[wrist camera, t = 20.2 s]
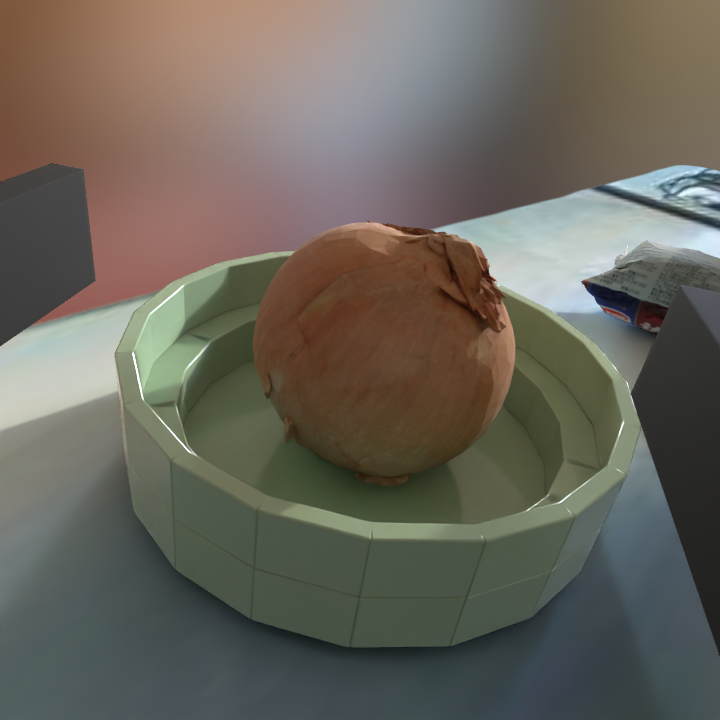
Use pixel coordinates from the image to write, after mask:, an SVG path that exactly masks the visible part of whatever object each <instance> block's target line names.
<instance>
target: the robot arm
mask: <svg viewBox="0 0 720 720" xmlns="http://www.w3.org/2000/svg"><path fill="white" fill-rule="evenodd" d="M94 281H95V271H94V263H93V253H92V244H91V236H90V226H89V217H88V208H87V199H86V190H85V180H84V171H83V169H79V168H74V167H69V166H64V165H58V164H53V163H51V164H48V165H46V166H43V167H40V168H37V169H34V170H32V171H29V172H26V173H23V174H20V175H18V176H15V177H12V178H9V179H6V180H4V181H1V182H0V346H1V345H3V344H4V343H6V342H7V341H9V340H10V339H11V338H13V337H14V336H16V335H17V334H19V333H20V332H22V331H23V330H25V329H26V328H27V327H29V326H30V325H32V324H33V323H35V322H36V321H38V320H39V319H40V318H42V317H43V316H45V315H46V314H48V313H49V312H51V311H52V310H53V309H55V308H56V307H58V306H59V305H61V304H62V303H64V302H65V301H67V300H68V299H70V298H71V297H72V296H74V295H75V294H77V293H78V292H80V291H81V290H83V289H84V288H86V287H87V286H88V285H90V284H91V283H93V282H94ZM631 397H632V400H633V403H634V406H635V409H636V412H637V415H638V417H639V420H640V423H641V426H642V429H643V432H644V435H645V438H646V441H647V444H648V447H649V450H650V453H651V456H652V459H653V461H654V464H655V467H656V470H657V473H658V476H659V479H660V482H661V485H662V488H663V491H664V494H665V497H666V500H667V503H668V505H669V508H670V511H671V514H672V517H673V520H674V523H675V526H676V529H677V532H678V535H679V538H680V541H681V544H682V547H683V550H684V552H685V555H686V558H687V561H688V564H689V567H690V570H691V573H692V576H693V579H694V582H695V585H696V588H697V591H698V594H699V596H700V599H701V602H702V605H703V608H704V611H705V614H706V617H707V620H708V623H709V626H710V629H711V632H712V635H713V638H714V640H715V643H716V646H717V649H718V652H719V655H720V294H719V292H715V291H710V290H705V289H700V288H695V287H690V286H684V285H679V287H678V289H677V291H676V294H675V296H674V298H673V300H672V303H671V305H670V307H669V309H668V312H667V314H666V316H665V318H664V321H663V323H662V325H661V327H660V329H659V332H658V334H657V336H656V338H655V341H654V343H653V345H652V347H651V350H650V352H649V354H648V356H647V358H646V361H645V363H644V365H643V367H642V370H641V372H640V374H639V376H638V379H637V381H636V383H635V385H634V388H633V390H632V392H631Z"/></svg>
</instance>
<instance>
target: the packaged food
mask: <svg viewBox="0 0 720 720" xmlns="http://www.w3.org/2000/svg"><path fill="white" fill-rule="evenodd" d="M627 249H628V246H627ZM627 249H626V251H625V253H624V255H619V256H618V257H616V259H615V265H616V266H615V267H614V268H613V269H612V270H610V271H608V272H605V273H603V274H600V275H597V276H594V277H591V278H588V279H586V280H583V281H582V284H584V285H585V288H586V289H587V291H588V292H589V293H590V294H591V295H592V296H594V297H595V300H596V302H597V304H598V305H599V306H600V307H601V308H602V309H603V311H604V312H605V313H606V314H608V315H610V316H613V317H615V318H617V319H620V320H622V321H624V322H627V323H630V324H633V325H635V326H638V327H640V328H643V329H645V330H647V331H650V332H652V333H656V334H658V332H659V329H660V327H661V325H662V323H663V321H664V318H665V316H666V314H667V312H668V309H669V307H670V305H671V303H672V300H673V298H674V296H675V294H676V291H677V289H678V287H679V285H684V286H690V287H695V288H700V289H705V290H710V291H715V292H719V294H720V259H719V258H716V257H713V256H710V255H707V254H704V253H702V252H700V251H696V250H691V249H686V248H679V247H673V246H666V245H661V244H657V243H654V242H650V241H644V242H643V243H641V244H640V245H639V246H637V247H636V248H635V249H634V250H633V251H632V252H630V253H628V252H627Z"/></svg>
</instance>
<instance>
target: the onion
mask: <svg viewBox="0 0 720 720" xmlns="http://www.w3.org/2000/svg"><path fill="white" fill-rule="evenodd" d="M487 261H488V260H487V259H486V258H485V256H484V254H483V252H482V250H481V248H480V247H478V246H477V245H475V244H474V243H472V242H470V241H468V240H466V239H462V238H459V237H458V235H453V234H447V233H445V232H438V233H436V232H434V231H433V230H427V229H421V228H409V227H399V226H396V225H392V224H389V223H387V224H379V223H375V222H371V221H367V223H354V224H348V225H344V226H341V227H338V228H333V229H330V230H327V231H324V232H322V233H320V234H319V235H317V236H315V237H313V238H312V239H310V240H309V241H307V242H306V243H304V244H303V245H302V246H301V247H300V248H298V249H297V250H296V251H295V252H294V253H293V254H292V255H291V256H290V257H289V258H288V259H287V260H286V261H285V262H284V263H283V265H282V266H281V267H280V268H279V270H278V271H277V273H276V275H275V276H274V278H273V280H272V282H271V283H270V285H269V287H268V289H267V291H266V293H265V295H264V297H263V300H262V302H261V305H260V308H259V312H258V315H257V319H256V323H255V330H254V337H253V354H254V363H255V367H256V371H257V374H258V377H259V380H260V383H261V386H262V388H263V390H264V396H266V399H268V398H270V401H271V403H272V405H273V407H274V408H275V410H276V412H277V413H278V415H279V417H280V418H281V420H282V421H283V422H284V424H285V442H286V443H288V442H289V440H290V439H291V438H293V437H294V439H295V441H296V443H298V444H299V445H302V446H306V447H307V448H308V449H310V450H311V451H312V452H313V453H315V454H317V455H319V456H320V457H322V458H323V459H324V460H327V461H329V462H331V463H333V464H334V466H335V467H337V466H339V467H342V468H346V469H349V470H353V471H356V473H355V474H353V476H354V477H355V479H357V478H360V479H361V480H362V484H364V483H365V482H367V483H371V482H375V483H377V484H378V485H385V486H395V485H397V484H401V483H405V481H406V482H407V481H408V480H409V477H410V476H411V475H412V474H416V473H420V472H423V471H425V470H428V469H431V468H434V467H437V466H439V465H442V464H444V463H446V462H448V461H450V460H451V459H453V458H455V457H456V456H458V455H460V454H461V453H463V452H464V451H465V450H467V449H468V448H469V447H470V446H471V445H472V444H473V443H474V442H476V441H477V440H478V439H479V438H480V437H481V436H482V435H483V434H484V433H485V432H486V430H487V429H488V427H489V426H490V424H491V423H492V422H493V420H494V418H495V417H496V415H497V414H498V412H499V411H500V409H501V407H502V405H503V402H504V400H505V397H506V395H507V393H508V390H509V387H510V384H511V379H512V374H513V369H514V362H515V339H514V333H513V328H512V325H511V322H510V319H509V316H508V313H507V310H506V308H505V306H504V304H503V301H502V299H501V297H503V298H504V299H505V298H506V297H505V295H504V294H503V293H502V292H501V291H500V290H499V289H498V288H497V286H496V285H495V282H494V281H497V280H496V279H495V278H494V277H492V276H490V274H489V267H490V266H489V264H488V262H487ZM291 441H292V440H291ZM375 485H376V484H375ZM378 487H379V486H378Z"/></svg>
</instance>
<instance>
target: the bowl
mask: <svg viewBox="0 0 720 720" xmlns="http://www.w3.org/2000/svg"><path fill="white" fill-rule="evenodd" d="M294 252H295V251H290V252H271V253H266V254H261V255H255V256H250V257H245V258H240V259H235V260H230V261H224V262H220V263H217V264H215V265H212V266H210V267H207V268H205V269H202V270H200V271H197V272H195V273H192V274H190V275H187V276H185V277H182V278H180V279H178V280H175V281H173V282H171V283H170V284H168V285H167V286H166V287H165V288H163V289H162V290H161V291H160V292H158V293H157V294H156V295H155V296H153V297H152V298H151V299H150V300H148V301H147V302H146V303H145V304H143V305H142V306H141V307H140V308H138V309H137V310H136V311H135V312H134V313H133V315H132V317H131V319H130V322H129V324H128V326H127V328H126V330H125V332H124V335H123V337H122V339H121V341H120V343H119V345H118V347H117V350H116V352H115V365H116V375H117V385H118V395H119V405H120V415H121V425H122V435H123V445H124V455H125V461H126V468H127V474H128V480H129V487H130V493H131V499H132V505H133V509H134V512H135V514H136V515H137V517H138V518H139V519H140V521H141V522H142V524H143V525H144V526H145V528H146V529H147V531H148V532H149V533H150V535H151V536H152V538H153V539H154V541H155V542H156V543H157V545H158V546H159V548H160V549H161V550H162V552H163V553H164V555H165V556H166V557H167V559H168V560H169V562H170V563H171V564H172V566H173V567H174V569H176V570H177V571H178V572H179V573H181V574H182V575H184V576H185V577H187V578H188V579H190V580H191V581H193V582H194V583H196V584H197V585H199V586H200V587H202V588H204V589H205V590H207V591H208V592H210V593H211V594H213V595H214V596H216V597H217V598H219V599H220V600H222V601H223V602H225V603H226V604H228V605H229V606H231V607H232V608H234V609H235V610H237V611H238V612H240V613H241V614H243V615H244V616H246V617H247V618H249V619H252V620H253V621H256V622H260V623H263V624H267V625H270V626H274V627H277V628H281V629H284V630H288V631H291V632H295V633H298V634H302V635H305V636H309V637H312V638H316V639H319V640H323V641H326V642H330V643H333V644H337V645H340V646H344V647H349V646H350V647H352V648H362V647H439V646H449V645H450V646H453V645H456V644H459V643H462V642H464V641H467V640H470V639H473V638H476V637H479V636H481V635H484V634H487V633H490V632H493V631H496V630H498V629H501V628H504V627H507V626H510V625H513V624H515V623H518V622H521V621H524V620H527V619H529V618H531V617H533V616H534V615H535V614H536V613H537V612H538V611H539V610H540V609H541V608H542V607H544V606H545V605H546V604H547V603H548V602H549V601H550V600H551V599H552V598H553V597H554V596H555V595H556V594H557V593H559V592H560V591H561V590H562V589H563V588H564V587H565V586H566V585H567V584H568V583H569V582H570V581H571V580H573V579H574V578H575V577H576V576H577V575H578V574H579V573H580V571H581V570H582V567H583V565H584V563H585V561H586V559H587V557H588V555H589V553H590V551H591V549H592V547H593V545H594V543H595V541H596V538H597V536H598V534H599V532H600V530H601V528H602V525H603V524H604V522H605V520H606V518H607V516H608V514H609V511H610V509H611V507H612V505H613V503H614V501H615V499H616V497H617V495H618V493H619V491H620V489H621V487H622V485H623V482H624V480H625V478H626V476H627V474H628V470H629V467H630V464H631V460H632V457H633V454H634V451H635V447H636V444H637V441H638V437H639V434H640V431H641V425H640V422H639V419H638V415H637V412H636V409H635V406H634V403H633V400H632V397H631V392H630V389H629V385H628V383H627V382H626V380H625V379H624V378H623V376H622V375H621V374H620V373H619V372H618V370H617V369H616V368H615V367H614V365H613V364H612V363H611V362H610V361H609V359H608V358H607V357H606V356H605V354H604V353H603V352H602V351H601V350H600V348H599V347H598V346H597V345H596V344H595V343H594V342H593V341H592V340H591V339H589V338H588V337H587V336H585V335H584V334H582V333H581V332H580V331H578V330H577V329H576V328H574V327H573V326H572V325H570V324H569V323H567V322H566V321H565V320H563V319H562V318H561V317H559V316H558V315H557V314H555V313H554V312H553V311H551V310H549V309H547V308H545V307H543V306H541V305H539V304H537V303H535V302H533V301H531V300H529V299H527V298H525V297H523V296H521V295H519V294H517V293H515V292H513V291H511V290H509V289H507V288H505V287H503V286H501V285H498V284H496V283H495V285H496V286H497V288H498V289H499V290H500V291H501V292H502V293H503V294H504V295H505V297H506V298H505V299H504V298H503V297H501V299H502V301H503V304H504V306H505V308H506V310H507V313H508V316H509V319H510V322H511V325H512V328H513V333H514V339H515V362H514V369H513V374H512V379H511V384H510V387H509V390H508V393H507V395H506V397H505V400H504V402H503V405H502V407H501V409H500V411H499V412H498V414H497V415H496V417H495V418H494V420H493V422H492V423H491V424H490V426H489V427H488V429H487V430H486V432H485V433H484V434H483V435H482V436H481V437H480V438H479V439H478V440H477V441H476V442H474V443H473V444H472V445H471V446H470V447H469V448H468V449H467V450H465V451H464V452H463V453H461V454H460V455H458V456H456V457H455V458H453V459H451V460H450V461H448V462H446V463H444V464H442V465H439V466H437V467H434V468H431V469H428V470H425V471H423V472H420V473H416V474H412V475H411V476H410V477H409V480H408V481H407V482H406V481H405V483H401V484H397V485H395V486H385V485H378V484H377V483H375V482H371V483H367V482H365V483H364V484H362V480H361V479H360V478H357V479H355V477H354V476H353V474H355V473H356V471H353V470H349V469H346V468H342V467H339V466H337V467H335V466H334V464H333V463H331V462H329V461H327V460H324V459H323V458H322V457H320V456H319V455H317V454H315V453H313V452H312V451H311V450H310V449H308V448H307V447H306V446H302V445H299V444H298V443H296V441H295V439H294V437H293V438H291V439H290V440H289V442H288V443H286V442H285V424H284V422H283V421H282V420H281V418H280V417H279V415H278V413H277V412H276V410H275V408H274V407H273V405H272V403H271V401H270V398H268V399H266V396H264V390H263V388H262V386H261V383H260V380H259V377H258V374H257V371H256V367H255V363H254V354H253V337H254V330H255V323H256V319H257V315H258V312H259V308H260V305H261V302H262V300H263V297H264V295H265V293H266V291H267V289H268V287H269V285H270V283H271V282H272V280H273V278H274V276H275V275H276V273H277V271H278V270H279V268H280V267H281V266H282V265H283V263H284V262H285V261H286V260H287V259H288V258H289V257H290V256H291V255H292V254H293V253H294ZM291 440H292V441H291ZM375 484H376V485H375ZM378 486H379V487H378Z"/></svg>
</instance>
